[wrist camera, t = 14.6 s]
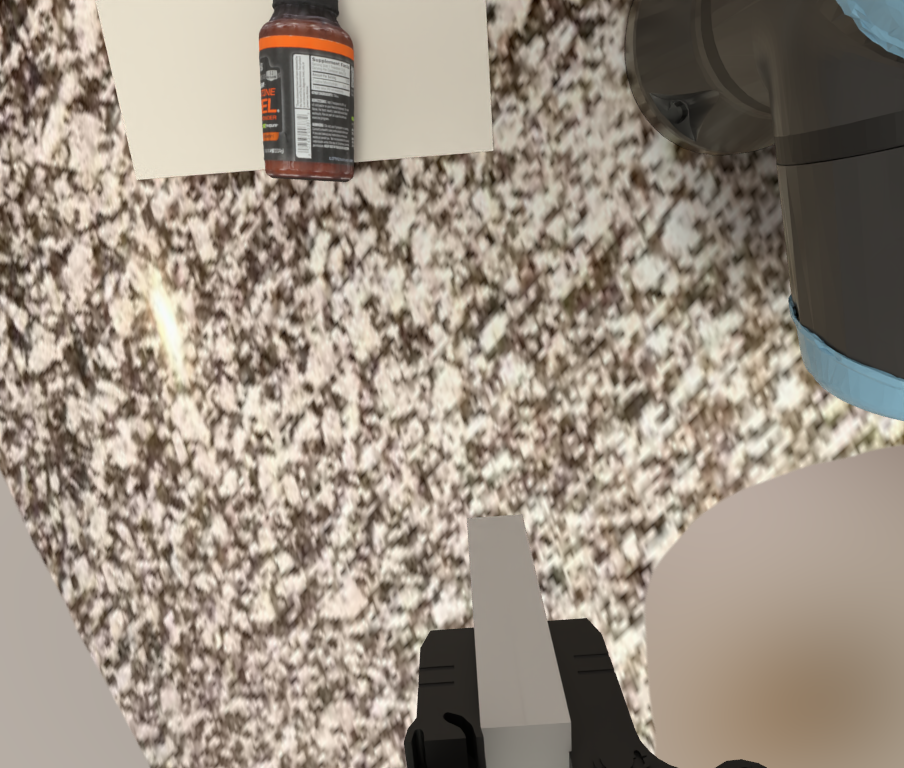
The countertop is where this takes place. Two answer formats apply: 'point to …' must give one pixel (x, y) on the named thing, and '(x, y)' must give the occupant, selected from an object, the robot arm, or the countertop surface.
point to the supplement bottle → (307, 92)
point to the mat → (239, 90)
